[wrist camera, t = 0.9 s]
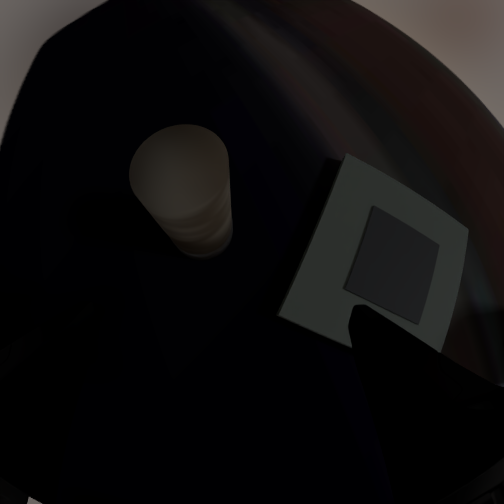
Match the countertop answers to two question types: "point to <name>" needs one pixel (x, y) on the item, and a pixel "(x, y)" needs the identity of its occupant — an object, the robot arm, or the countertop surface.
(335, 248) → the sage board
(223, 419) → the countertop surface
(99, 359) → the countertop surface
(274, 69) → the countertop surface
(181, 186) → the ash sleeve
